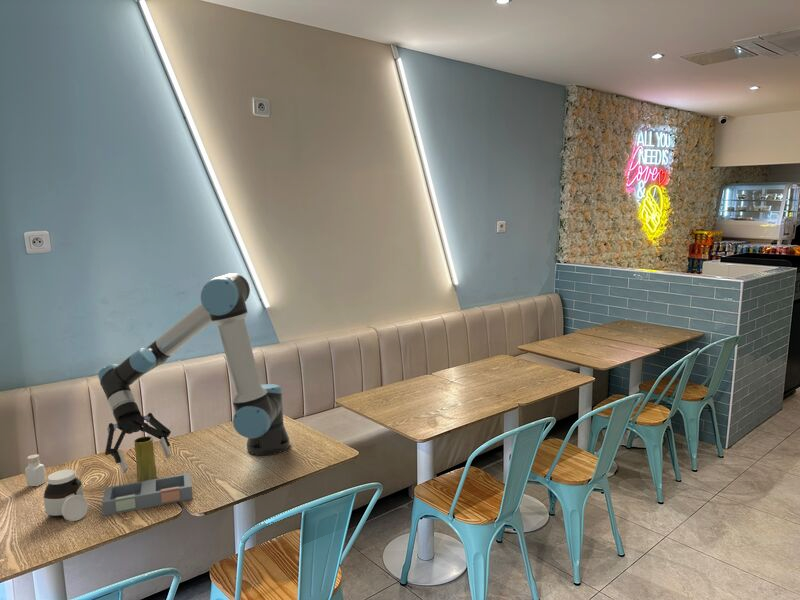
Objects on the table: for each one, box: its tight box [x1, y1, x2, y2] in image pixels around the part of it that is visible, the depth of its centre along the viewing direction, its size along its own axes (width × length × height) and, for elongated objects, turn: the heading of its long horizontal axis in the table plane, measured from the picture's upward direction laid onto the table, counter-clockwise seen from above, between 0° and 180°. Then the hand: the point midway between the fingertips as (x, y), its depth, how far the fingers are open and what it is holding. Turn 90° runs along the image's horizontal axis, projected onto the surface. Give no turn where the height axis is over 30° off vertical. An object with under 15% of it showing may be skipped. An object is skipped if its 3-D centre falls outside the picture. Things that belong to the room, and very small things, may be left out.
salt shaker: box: [24, 453, 47, 487], centre depth 186 cm, size 4×4×10 cm
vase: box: [133, 436, 158, 482], centre depth 185 cm, size 6×6×14 cm
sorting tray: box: [101, 472, 193, 517], centre depth 174 cm, size 24×10×4 cm, turn 111°
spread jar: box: [43, 469, 89, 522], centre depth 166 cm, size 12×11×12 cm
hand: (147, 463), depth 184 cm, fingers open, 13 cm apart
